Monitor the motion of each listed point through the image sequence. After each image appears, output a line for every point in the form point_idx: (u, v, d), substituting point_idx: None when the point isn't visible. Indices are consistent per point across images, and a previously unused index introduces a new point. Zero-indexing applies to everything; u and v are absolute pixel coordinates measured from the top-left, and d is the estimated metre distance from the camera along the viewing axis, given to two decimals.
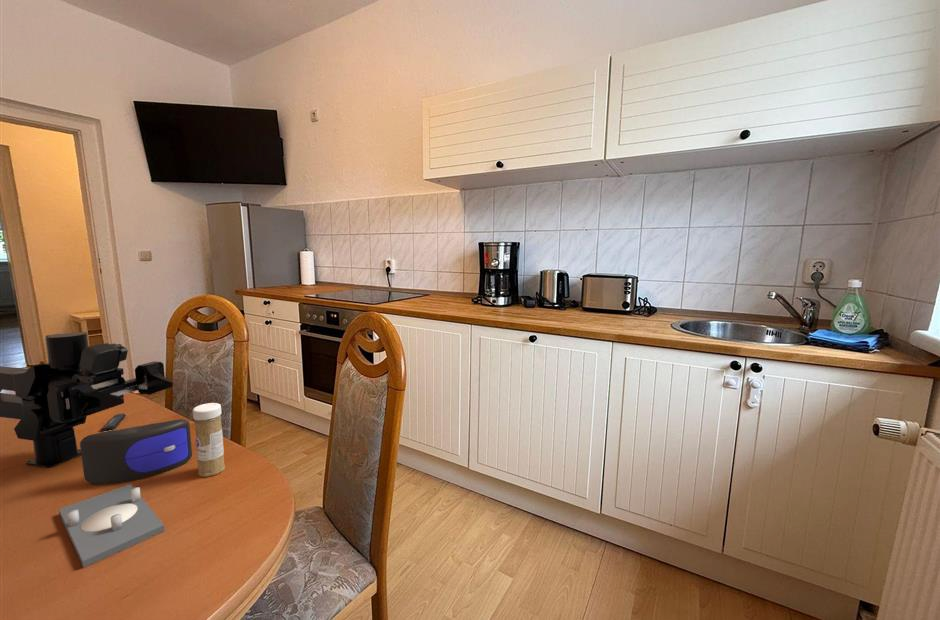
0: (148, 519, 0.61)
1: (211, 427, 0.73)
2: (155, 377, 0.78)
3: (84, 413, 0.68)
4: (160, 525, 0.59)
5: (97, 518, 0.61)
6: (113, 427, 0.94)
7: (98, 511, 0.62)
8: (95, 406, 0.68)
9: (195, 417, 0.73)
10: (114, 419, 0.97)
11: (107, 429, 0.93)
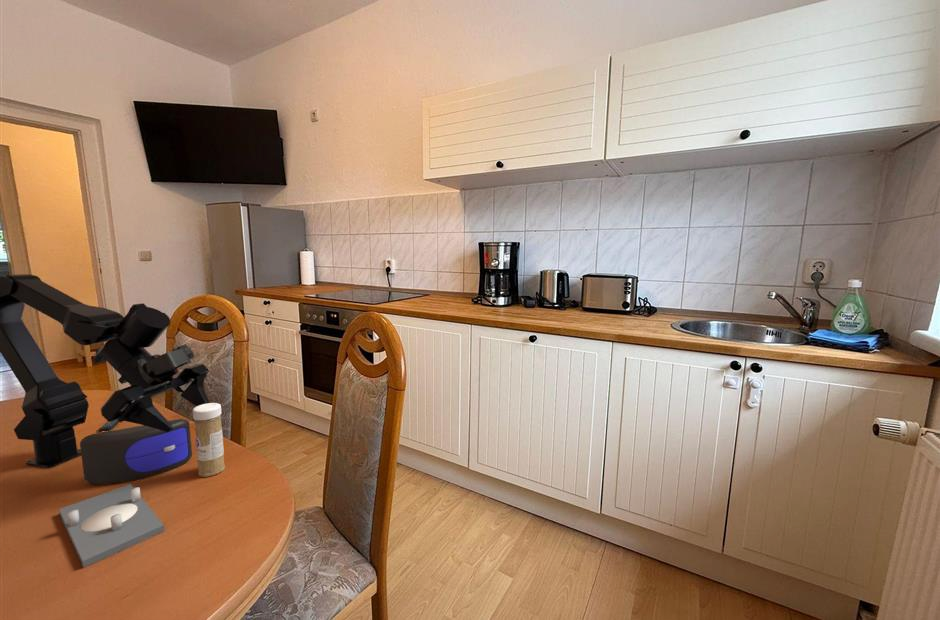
0: (148, 519, 0.61)
1: (211, 427, 0.73)
2: (199, 393, 0.80)
3: (130, 419, 0.69)
4: (160, 525, 0.59)
5: (97, 518, 0.61)
6: (110, 428, 0.93)
7: (98, 511, 0.62)
8: (144, 420, 0.69)
9: (195, 417, 0.73)
10: None
11: (104, 429, 0.93)
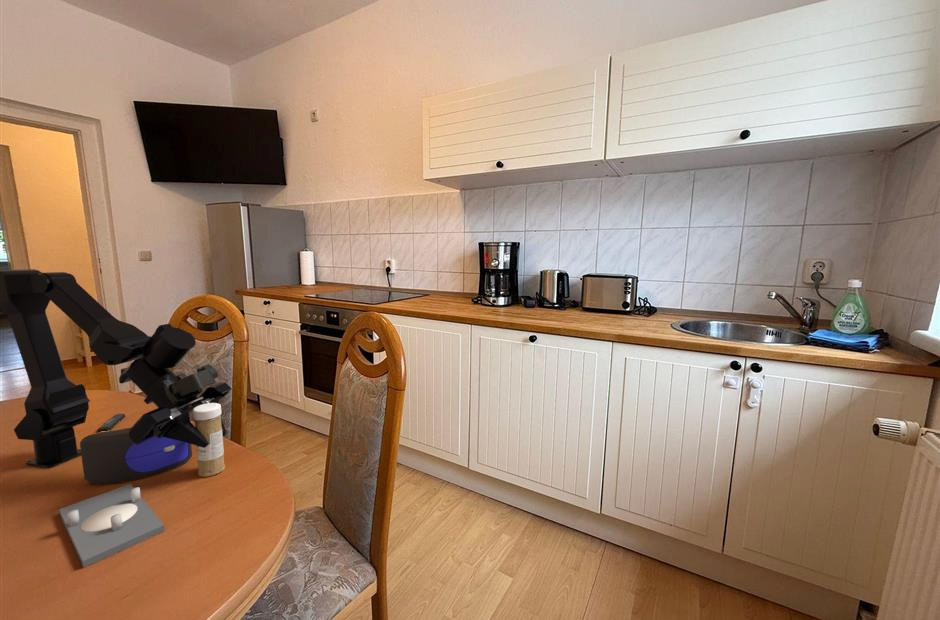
0: (148, 519, 0.61)
1: (211, 427, 0.73)
2: None
3: (168, 435, 0.71)
4: (160, 525, 0.59)
5: (97, 518, 0.61)
6: (109, 428, 0.93)
7: (98, 511, 0.62)
8: (181, 436, 0.72)
9: (195, 417, 0.73)
10: (112, 419, 0.97)
11: (103, 430, 0.92)
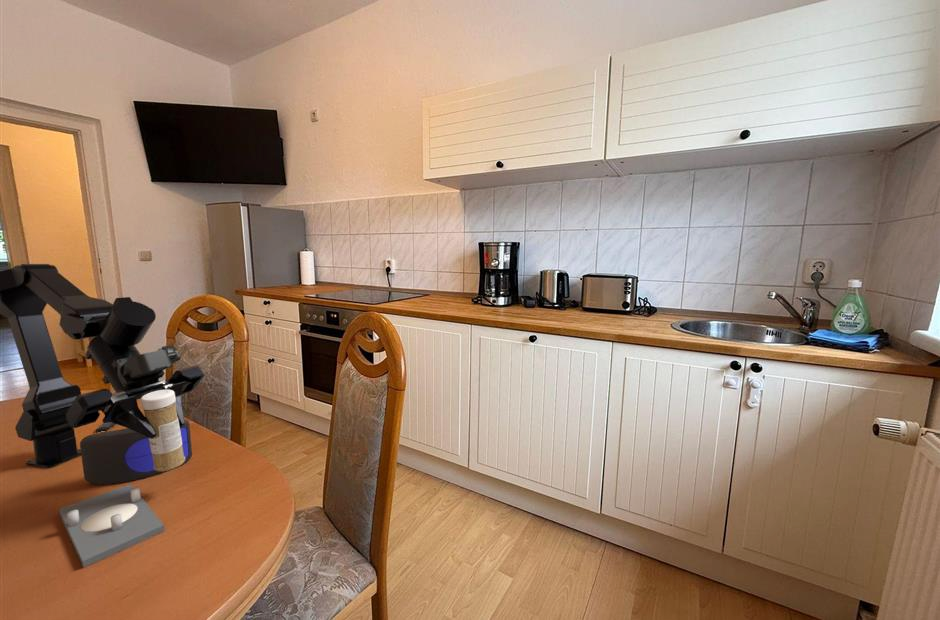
0: (148, 519, 0.61)
1: (159, 418, 0.65)
2: None
3: (116, 420, 0.64)
4: (160, 525, 0.59)
5: (97, 518, 0.61)
6: (107, 428, 0.93)
7: (98, 511, 0.62)
8: (128, 423, 0.64)
9: (142, 406, 0.64)
10: None
11: (101, 430, 0.92)
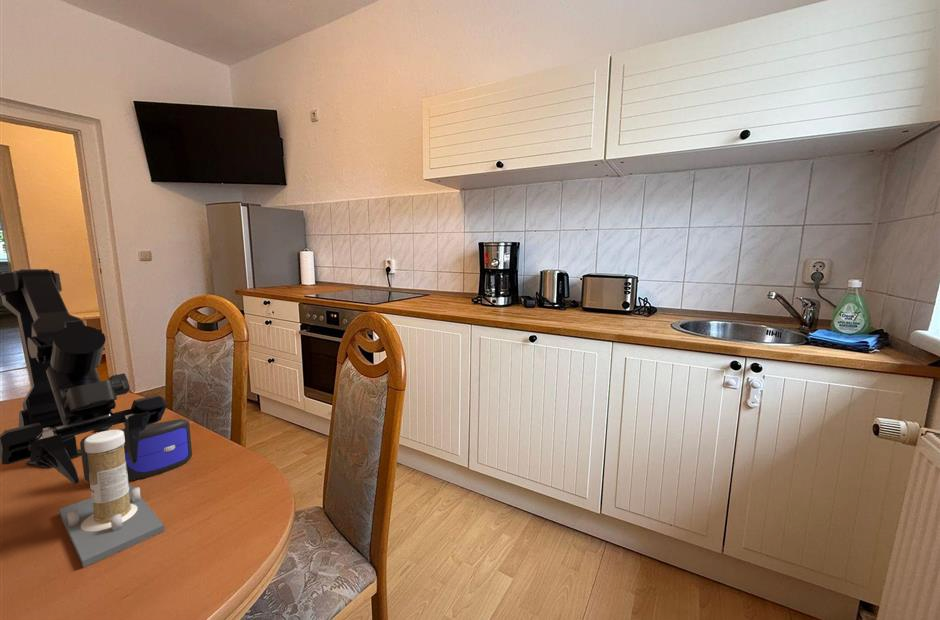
0: (148, 519, 0.61)
1: (98, 463, 0.58)
2: (129, 437, 0.63)
3: (45, 459, 0.58)
4: (160, 525, 0.59)
5: None
6: (105, 428, 0.93)
7: None
8: (55, 463, 0.57)
9: None
10: None
11: (99, 430, 0.92)
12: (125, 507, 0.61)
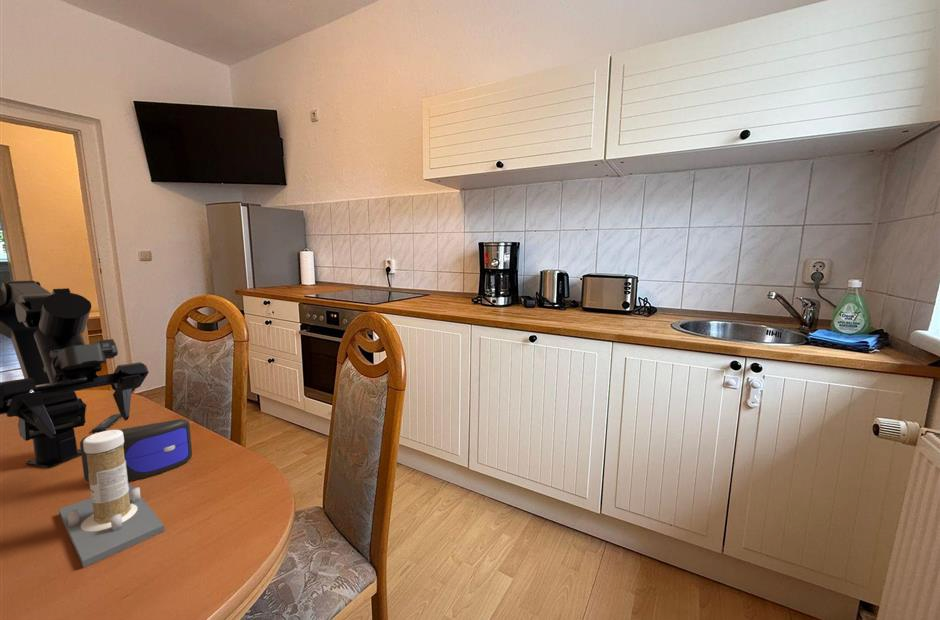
0: (148, 519, 0.61)
1: (98, 463, 0.58)
2: (122, 396, 0.70)
3: (21, 415, 0.61)
4: (160, 525, 0.59)
5: None
6: (103, 429, 0.93)
7: None
8: (32, 419, 0.61)
9: None
10: (108, 420, 0.97)
11: (97, 430, 0.92)
12: (125, 507, 0.61)
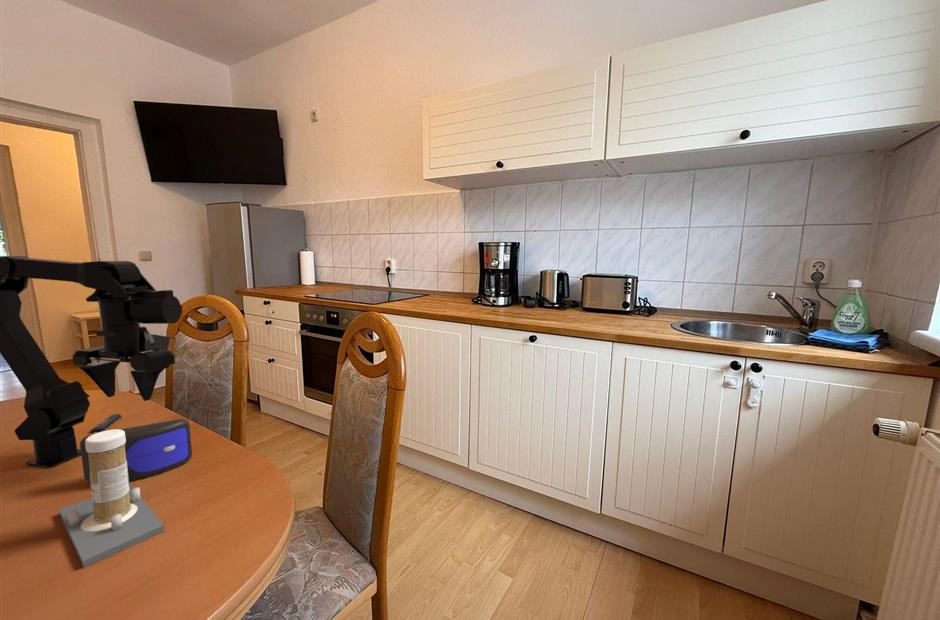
0: (148, 519, 0.61)
1: (99, 463, 0.58)
2: (114, 375, 0.81)
3: (141, 375, 0.75)
4: (160, 525, 0.59)
5: None
6: (102, 429, 0.93)
7: None
8: (145, 381, 0.77)
9: None
10: (107, 420, 0.97)
11: (96, 431, 0.92)
12: (125, 507, 0.61)
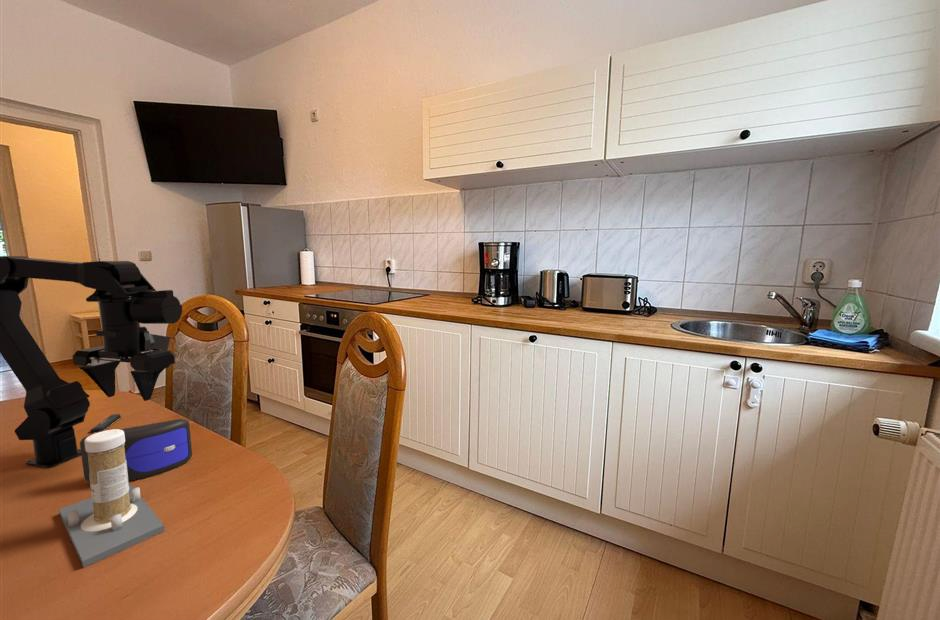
0: (148, 519, 0.61)
1: (99, 462, 0.58)
2: (114, 375, 0.81)
3: (141, 375, 0.75)
4: (160, 525, 0.59)
5: None
6: (101, 429, 0.93)
7: None
8: (145, 381, 0.77)
9: (85, 447, 0.59)
10: (106, 420, 0.97)
11: (95, 431, 0.92)
12: (125, 507, 0.61)
